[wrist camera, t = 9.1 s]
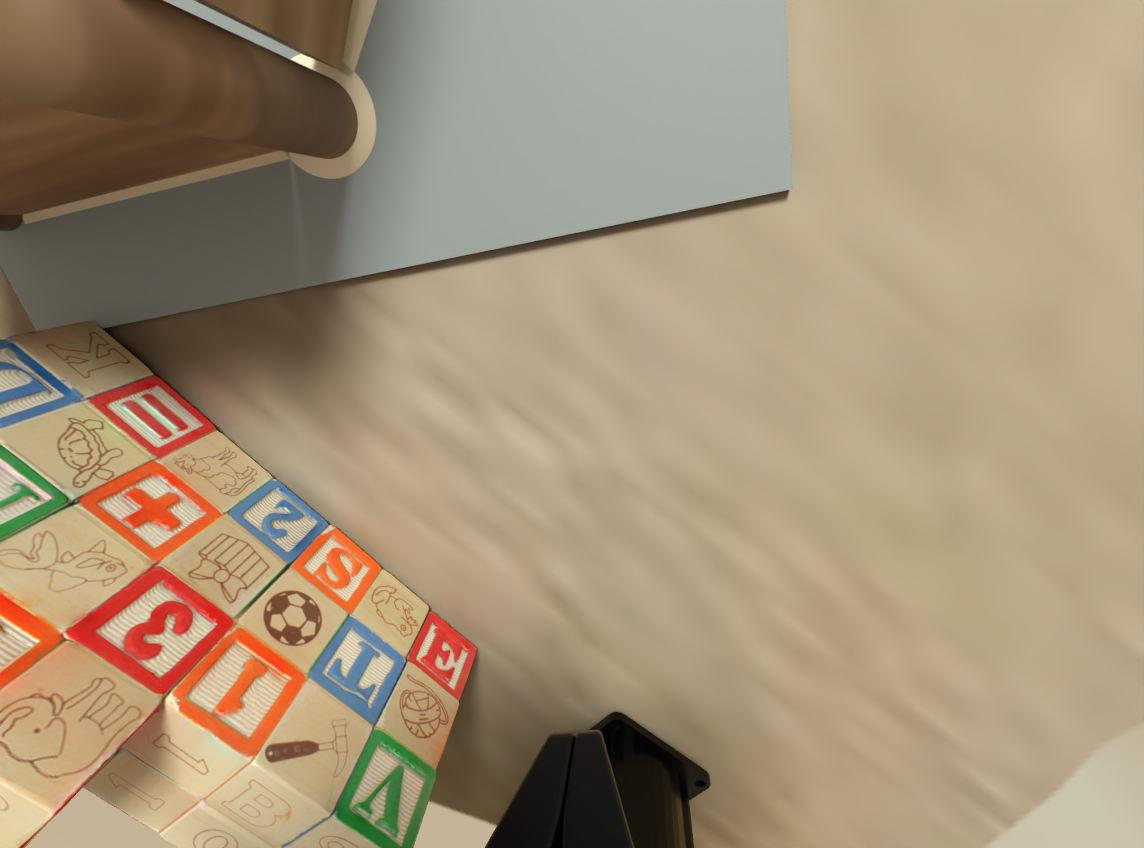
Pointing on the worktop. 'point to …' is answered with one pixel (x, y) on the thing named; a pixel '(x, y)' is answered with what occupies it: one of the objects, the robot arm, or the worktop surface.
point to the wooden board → (295, 23)
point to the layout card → (440, 154)
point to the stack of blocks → (195, 627)
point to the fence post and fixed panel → (144, 101)
